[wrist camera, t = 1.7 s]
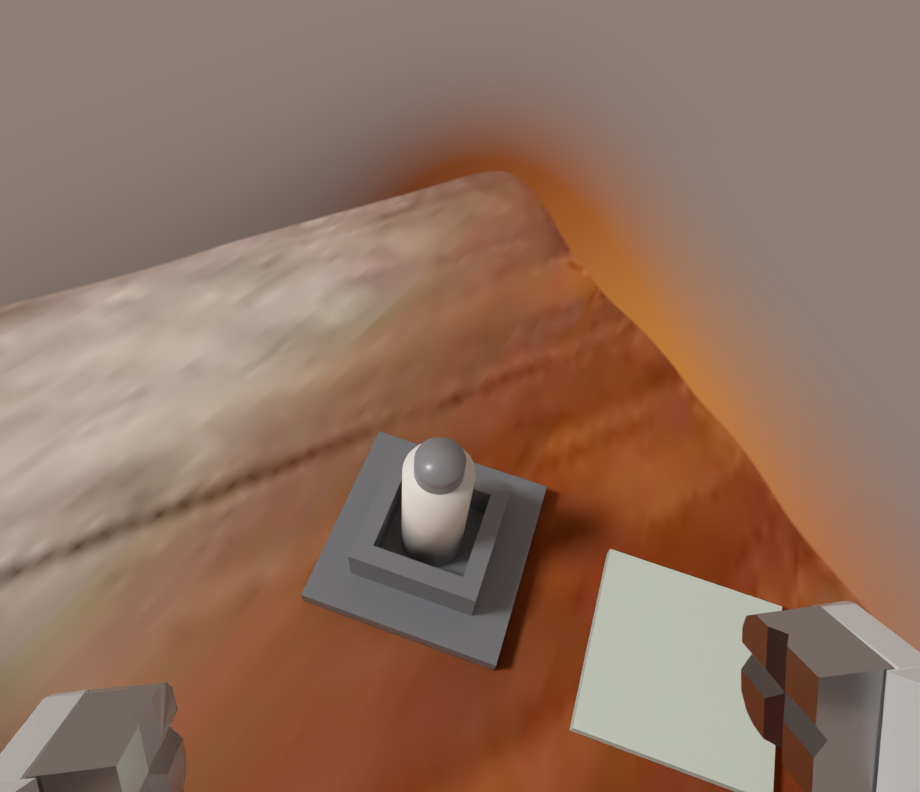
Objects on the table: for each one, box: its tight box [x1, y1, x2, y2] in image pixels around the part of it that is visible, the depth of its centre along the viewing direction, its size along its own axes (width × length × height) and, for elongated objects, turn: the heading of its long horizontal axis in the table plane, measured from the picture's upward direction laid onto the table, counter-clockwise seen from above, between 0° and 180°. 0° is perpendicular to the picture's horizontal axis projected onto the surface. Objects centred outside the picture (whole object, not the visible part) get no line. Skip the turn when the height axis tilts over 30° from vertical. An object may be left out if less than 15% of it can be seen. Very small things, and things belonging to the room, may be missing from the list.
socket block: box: [301, 432, 547, 670], centre depth 38 cm, size 11×11×4 cm
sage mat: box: [570, 549, 782, 792], centre depth 36 cm, size 10×10×1 cm
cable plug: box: [401, 437, 476, 567], centre depth 35 cm, size 4×4×9 cm
